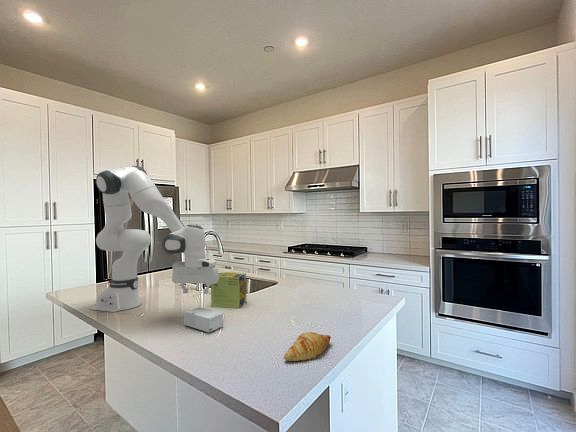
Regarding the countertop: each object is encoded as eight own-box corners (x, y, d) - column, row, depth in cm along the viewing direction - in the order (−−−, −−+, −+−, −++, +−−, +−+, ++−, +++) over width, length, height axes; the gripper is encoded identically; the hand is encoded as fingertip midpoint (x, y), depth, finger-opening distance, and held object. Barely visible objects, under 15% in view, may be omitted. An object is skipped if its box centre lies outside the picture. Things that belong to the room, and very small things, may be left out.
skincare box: (198, 306, 132) (224, 311, 125) (198, 320, 132) (224, 326, 125) (183, 311, 125) (209, 317, 118) (183, 326, 125) (209, 333, 118)
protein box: (239, 308, 148) (239, 277, 147) (210, 306, 151) (210, 276, 150) (247, 301, 158) (246, 272, 157) (219, 300, 161) (219, 271, 161)
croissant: (290, 377, 94) (298, 360, 91) (272, 352, 100) (279, 335, 97) (334, 353, 108) (342, 337, 105) (316, 333, 114) (323, 317, 111)
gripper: (168, 262, 129) (169, 294, 130) (215, 263, 127) (215, 295, 128) (175, 260, 136) (176, 290, 136) (219, 260, 134) (220, 291, 134)
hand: (195, 293), depth 132 cm, fingers open, 8 cm apart
